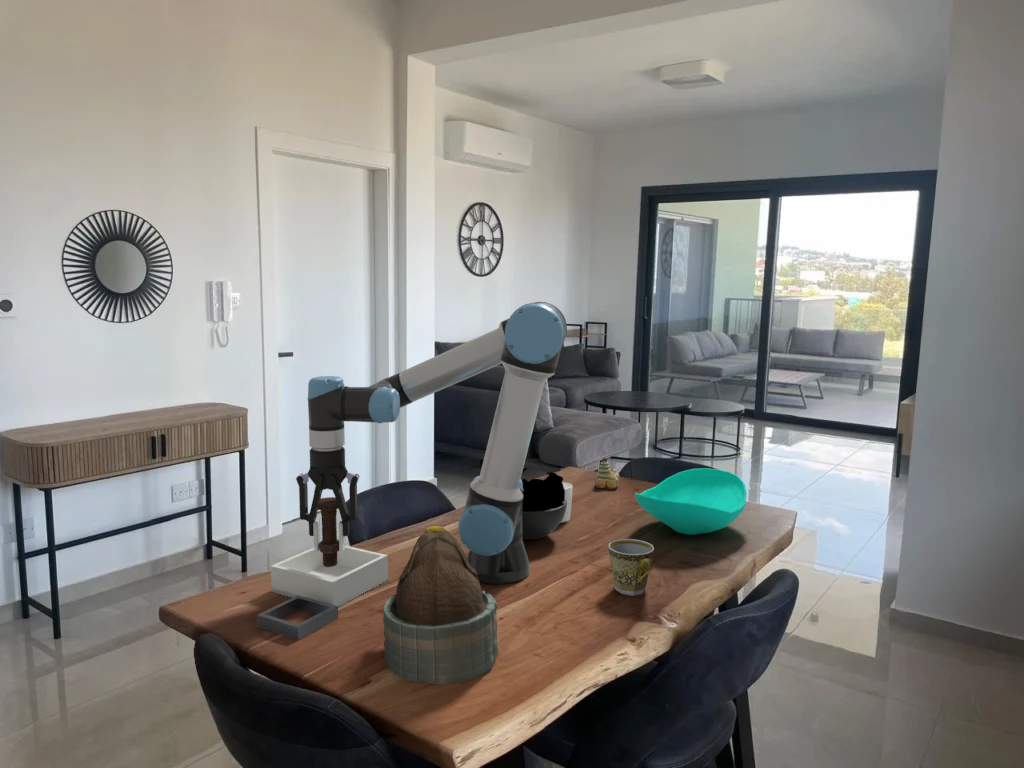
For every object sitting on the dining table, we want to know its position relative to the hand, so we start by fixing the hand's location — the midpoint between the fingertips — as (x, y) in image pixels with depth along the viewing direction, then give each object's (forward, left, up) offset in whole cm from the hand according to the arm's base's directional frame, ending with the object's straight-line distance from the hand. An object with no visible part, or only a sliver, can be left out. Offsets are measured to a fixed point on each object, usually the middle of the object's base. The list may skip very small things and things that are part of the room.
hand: (329, 549), depth 170 cm
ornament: (-22, -108, -9) cm, 111 cm away
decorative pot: (-38, +12, -9) cm, 41 cm away
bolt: (0, 0, -4) cm, 4 cm away
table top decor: (-59, -78, -9) cm, 98 cm away
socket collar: (-7, +17, -9) cm, 20 cm away
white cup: (-23, -69, -9) cm, 73 cm away
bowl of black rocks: (-23, -51, -9) cm, 57 cm away
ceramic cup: (-60, -31, -9) cm, 68 cm away
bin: (0, 0, -9) cm, 9 cm away
